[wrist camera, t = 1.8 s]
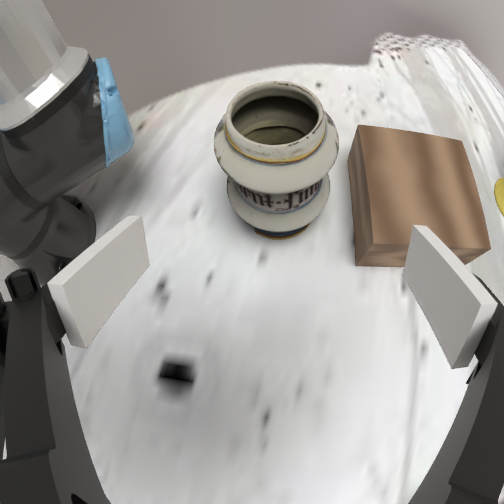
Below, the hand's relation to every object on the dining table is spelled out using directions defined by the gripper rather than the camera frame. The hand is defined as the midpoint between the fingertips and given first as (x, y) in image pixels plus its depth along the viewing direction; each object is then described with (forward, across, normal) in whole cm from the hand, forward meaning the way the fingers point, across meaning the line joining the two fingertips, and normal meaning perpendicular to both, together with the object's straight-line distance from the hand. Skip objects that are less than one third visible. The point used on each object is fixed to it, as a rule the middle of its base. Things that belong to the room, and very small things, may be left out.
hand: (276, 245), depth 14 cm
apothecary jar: (+27, 0, -6) cm, 27 cm away
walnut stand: (+27, +18, -6) cm, 33 cm away
